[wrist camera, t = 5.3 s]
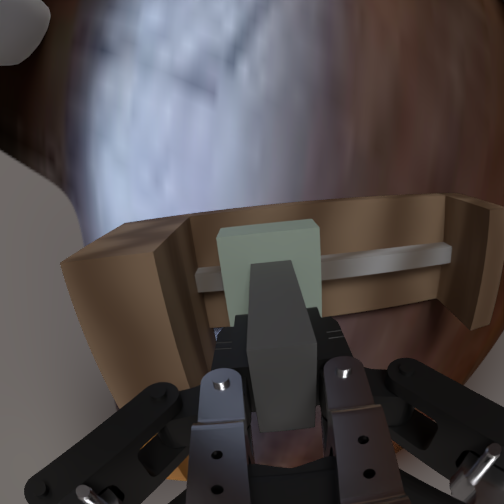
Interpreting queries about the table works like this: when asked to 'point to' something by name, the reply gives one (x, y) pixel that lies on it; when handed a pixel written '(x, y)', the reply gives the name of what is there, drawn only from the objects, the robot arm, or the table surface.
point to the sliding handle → (276, 314)
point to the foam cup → (21, 29)
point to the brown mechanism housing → (332, 276)
